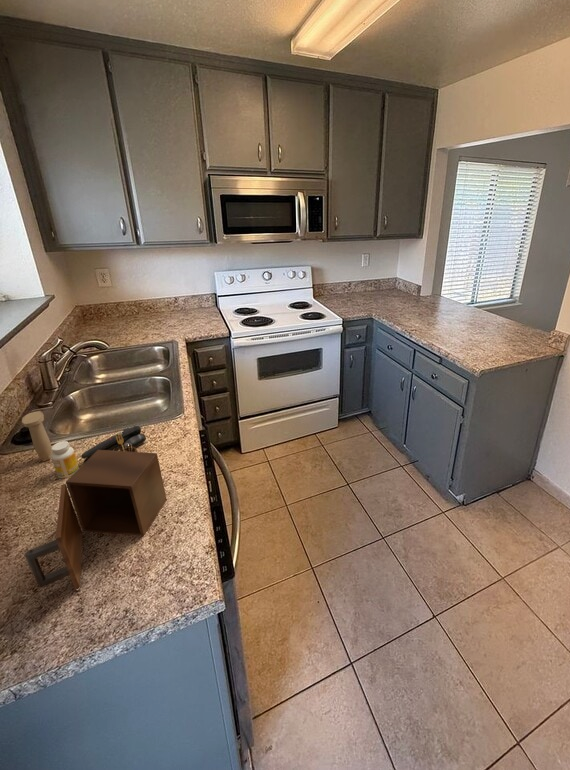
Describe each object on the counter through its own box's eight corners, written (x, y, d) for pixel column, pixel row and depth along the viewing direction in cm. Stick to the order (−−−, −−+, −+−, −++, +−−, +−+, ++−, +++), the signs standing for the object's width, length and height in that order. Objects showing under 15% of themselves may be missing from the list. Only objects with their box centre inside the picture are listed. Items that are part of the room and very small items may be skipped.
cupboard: (144, 536, 85) (131, 486, 79) (82, 531, 86) (65, 481, 80) (166, 500, 95) (156, 453, 89) (111, 496, 96) (97, 449, 91)
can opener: (140, 433, 121) (137, 419, 119) (148, 443, 117) (145, 429, 115) (80, 458, 110) (75, 443, 108) (86, 470, 105) (81, 455, 103)
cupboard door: (41, 607, 70) (17, 553, 64) (49, 545, 83) (29, 495, 77) (80, 590, 73) (60, 536, 68) (82, 532, 86) (65, 483, 80)
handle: (36, 467, 106) (20, 425, 101) (38, 455, 111) (23, 414, 106) (56, 461, 109) (41, 420, 103) (57, 449, 114) (43, 409, 108)
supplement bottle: (55, 481, 101) (46, 454, 98) (59, 468, 106) (50, 442, 102) (78, 475, 103) (69, 448, 100) (80, 463, 108) (72, 437, 104)
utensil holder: (126, 481, 101) (117, 447, 97) (115, 471, 105) (106, 438, 100) (146, 469, 106) (138, 436, 101) (135, 460, 109) (128, 428, 105)
